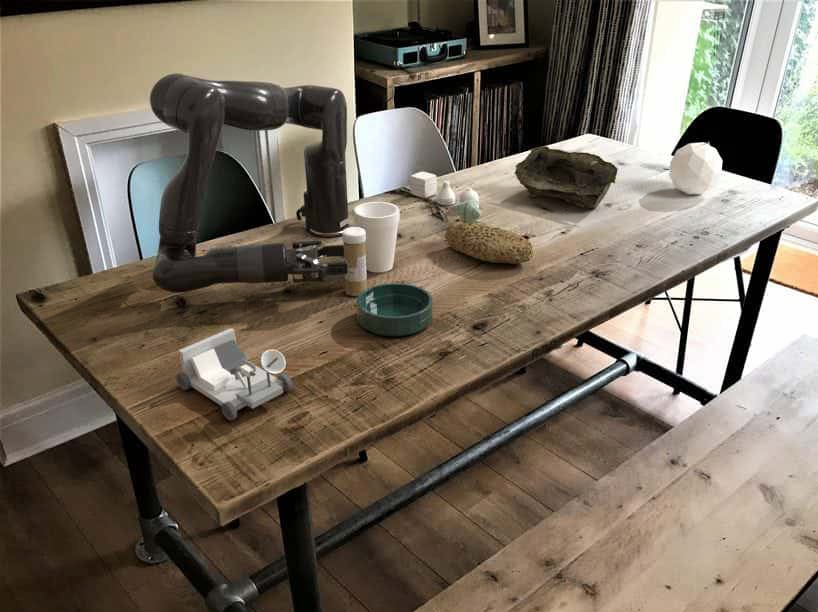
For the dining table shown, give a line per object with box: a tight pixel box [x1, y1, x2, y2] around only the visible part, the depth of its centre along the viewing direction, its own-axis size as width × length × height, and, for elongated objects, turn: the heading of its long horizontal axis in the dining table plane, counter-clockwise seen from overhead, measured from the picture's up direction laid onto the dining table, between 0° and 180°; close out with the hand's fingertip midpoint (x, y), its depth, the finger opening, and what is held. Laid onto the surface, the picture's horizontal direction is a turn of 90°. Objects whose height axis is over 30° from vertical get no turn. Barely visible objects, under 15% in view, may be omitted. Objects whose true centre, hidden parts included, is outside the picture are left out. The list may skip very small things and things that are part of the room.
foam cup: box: [353, 201, 401, 273], centre depth 168 cm, size 10×9×13 cm
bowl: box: [356, 282, 434, 337], centre depth 150 cm, size 14×14×4 cm
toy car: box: [175, 327, 293, 422], centre depth 126 cm, size 18×10×12 cm
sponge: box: [444, 221, 535, 264], centre depth 176 cm, size 13×8×20 cm
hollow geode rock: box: [514, 145, 619, 210], centre depth 207 cm, size 28×13×15 cm
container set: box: [409, 171, 480, 209], centre depth 205 cm, size 20×5×6 cm, turn 54°
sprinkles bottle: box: [341, 226, 368, 297], centre depth 157 cm, size 5×5×14 cm
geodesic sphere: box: [669, 141, 723, 195], centre depth 215 cm, size 15×14×14 cm
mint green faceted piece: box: [452, 200, 483, 224], centre depth 191 cm, size 8×4×7 cm, turn 56°
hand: (346, 259), depth 157 cm, fingers open, 8 cm apart
